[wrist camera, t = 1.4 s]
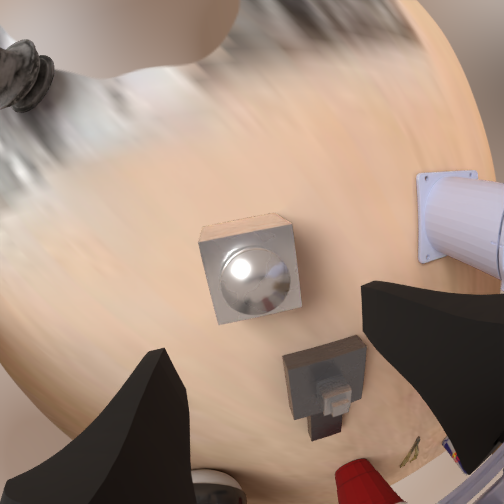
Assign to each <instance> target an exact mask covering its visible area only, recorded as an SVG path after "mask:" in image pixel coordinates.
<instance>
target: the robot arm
mask: <svg viewBox="0 0 504 504" xmlns="http://www.w3.org/2000/svg"><path fill="white" fill-rule="evenodd" d="M425 177H426V180H425ZM416 182H417V197H418V223H419V245H418V261H419V262H420V263H427V262H430V261H433V260H436V259H439V258H442V257H445V256H450V257H452V258H455V259H457V260H459V261H461V262H464V263H466V264H468V265H470V266H472V267H474V268H477V269H479V270H481V271H483V272H485V273H487V274H489V275H491V276H493V277H495V278H497V279H499V280H501V281H502V284H501V290H502V291H504V183H500V182H493V181H486V180H479V179H478V173H477V171H475V170H464V171H444V172H428V173H419V174H418V175H417V177H416ZM426 256H427V258H426ZM361 296H362V319H363V332H364V333H365V335H366V336H367V338H368V339H369V340H370V342H371V343H372V344H373V346H374V347H375V348H376V350H377V351H378V352H379V353H380V354H381V355H382V356H383V357H384V358H385V359H386V360H387V361H388V362H389V363H390V364H391V365H392V366H393V367H394V368H395V369H396V370H397V371H398V372H399V373H400V374H401V375H402V376H403V377H404V378H405V379H406V380H407V381H408V382H409V383H410V384H411V385H412V386H413V387H414V388H415V389H416V390H417V392H418V393H419V394H420V396H421V397H422V398H423V400H424V401H425V402H426V404H427V405H428V406H429V408H430V409H431V411H432V412H433V414H434V415H435V417H436V418H437V420H438V421H439V423H440V424H441V426H442V428H443V429H444V431H445V433H446V434H447V436H448V438H449V440H450V441H451V443H452V445H453V447H454V450H455V452H456V454H457V456H458V458H459V460H460V463H461V465H462V468H463V469H464V470H465V471H466V473H467V474H468V475H470V474H471V473H472V472H473V471H474V470H476V468H478V467H479V466H480V465H481V464H482V463H483V461H485V460H486V459H487V458H488V457H489V456H490V455H491V454H492V453H493V452H494V451H495V450H496V448H497V447H498V446H499V445H500V444H501V443H502V445H501V446H500V447H499V448H498V449H497V450H496V451H495V452H494V453H493V455H492V456H491V457H490V458H489V459H488V460H487V461H486V462H485V463H484V464H483V465H482V466H481V467H480V468H478V469H477V470H476V471H475V472H474V473H473V474H472V475H471V476H470V477H469V478H468V479H466V480H465V481H464V482H463V483H462V484H461V485H459V486H458V487H457V488H456V489H455V490H453V491H452V492H451V493H450V494H448V495H447V496H446V497H445V498H443V499H442V500H440V501H439V502H438V503H436V504H466V503H467V502H468V501H469V500H471V499H472V498H473V497H474V496H475V495H476V494H477V493H479V491H481V490H482V489H483V488H484V487H485V486H486V485H487V484H488V483H489V482H490V481H491V480H492V479H493V478H494V477H495V476H496V475H497V474H498V472H499V471H500V470H501V469H502V468H503V467H504V294H492V295H471V294H455V293H447V292H439V291H433V290H427V289H421V288H416V287H411V286H406V285H400V284H395V283H389V282H383V281H372V282H370V283H367V284H365V285H362V286H361ZM0 504H197V500H196V496H195V491H194V486H193V481H192V474H191V463H190V419H189V407H188V400H187V393H186V388H185V387H184V385H183V383H182V381H181V379H180V377H179V375H178V373H177V372H176V370H175V368H174V366H173V364H172V362H171V360H170V358H169V356H168V354H167V352H166V350H165V348H161V349H157V350H153V351H149V352H148V353H147V354H146V355H145V356H144V358H143V359H142V360H141V362H140V363H139V364H138V366H137V367H136V368H135V370H134V371H133V373H132V374H131V375H130V377H129V378H128V379H127V381H126V382H125V383H124V385H123V386H122V388H121V389H120V390H119V391H118V393H117V394H116V395H115V396H114V398H113V399H112V400H111V401H110V403H109V404H108V405H107V406H106V408H105V409H104V410H103V411H102V412H101V413H100V415H99V416H98V417H97V418H96V419H95V420H94V421H93V422H92V423H91V424H90V425H89V426H88V427H87V428H86V429H85V430H84V431H83V432H82V433H81V434H80V435H79V436H77V437H76V438H75V439H74V440H73V441H71V442H70V443H69V444H68V445H67V446H65V447H64V448H63V449H62V450H60V451H59V452H58V453H56V454H55V455H54V456H52V457H51V458H49V459H48V460H46V461H44V462H43V463H41V464H40V465H38V466H36V467H34V468H33V469H31V470H29V471H27V472H25V473H23V474H20V475H18V476H16V477H14V478H12V479H9V480H8V481H7V482H6V485H5V487H4V491H3V494H2V498H1V501H0ZM473 504H504V469H503V475H502V477H501V478H499V479H498V480H497V481H496V482H495V483H494V484H493V485H492V486H491V487H490V488H489V489H488V490H486V492H484V493H483V494H482V495H481V496H480V497H479V498H478V499H477V500H476V501H475V502H474V503H473Z"/></svg>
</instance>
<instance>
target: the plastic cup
mask: <svg viewBox="0 0 504 504" xmlns="http://www.w3.org/2000/svg"><path fill="white" fill-rule="evenodd" d="M335 480H336V485H337V495H338V502H339V504H408V503H407V502H406V501H403V500H402V499H401V498H400V497H399V496H398V495H397V493H396V492H394V491H393V489H392V488H391V487H390V486H389V484H388V483H387V482H386V481H385V480H384V478H383V477H382V476H381V475H380V473H379V472H378V471H376V470H375V468H374V467H373V466H372V465H371V463H370V462H369V461H367V459H357V460H355V461H352V462H349V463H347V464H345V465H344V466H342V467H341V468H339V469H338V470H337V471H336V473H335Z"/></svg>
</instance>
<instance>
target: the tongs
mask: <svg viewBox="0 0 504 504" xmlns="http://www.w3.org/2000/svg"><path fill="white" fill-rule="evenodd" d="M419 441H420V437H417V439H416V442H415V444H414V446H413V447H412V449H411V450H410V452H409V454H408V455H407V456H406V458H405V460H404V461H403V463H402V464H401V466H400V468H401V467H402V466H405V464H406V463H407V462H408V460H409V458H410V455H411V454H412V452H413V450H414V448H415V455H414V458H413V459H412V460H415V459H416V458H417V456H418V443H419ZM415 446H416V447H415ZM412 460H411V461H412ZM411 461H410V462H411Z"/></svg>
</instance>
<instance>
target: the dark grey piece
mask: <svg viewBox="0 0 504 504" xmlns="http://www.w3.org/2000/svg"><path fill="white" fill-rule="evenodd" d="M366 349H367V346H366V345H365V344H364V343H363V342H362V340H361V339H360V338H359V337H358V336H357V335H355V336H351V337H348V338H345V339H342V340H339V341H335V342H332V343H329V344H325V345H322V346H318V347H315V348H311V349H307V350H304V351H300V352H296V353H292V354H288V355H284V356H282V357H283V364H284V371H285V378H286V385H287V392H288V399H289V406H290V409H291V412H292V415H293V418H294V420H296V419H300V418H304V417H307V420H308V433H309V435H310V438H311V441H314V440H318V439H321V438H324V437H327V436H330V435H333V434H336V433H339V432H341V425H342V415H343V414H344V413H347V412H349V407H350V403H351V402H354V401H356V400H359V399H361V397H362V389H363V381H364V371H365V361H366Z"/></svg>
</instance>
